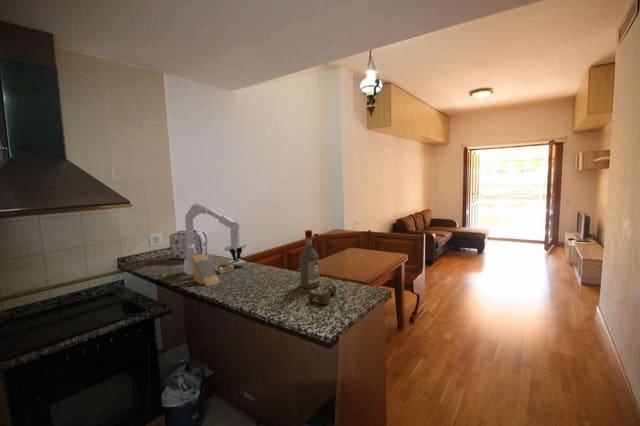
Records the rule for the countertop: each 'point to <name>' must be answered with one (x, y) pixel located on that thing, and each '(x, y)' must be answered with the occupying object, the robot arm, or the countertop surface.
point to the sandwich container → (204, 270)
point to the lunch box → (180, 243)
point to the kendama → (322, 294)
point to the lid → (236, 261)
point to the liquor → (309, 264)
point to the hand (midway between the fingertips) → (236, 259)
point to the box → (224, 268)
